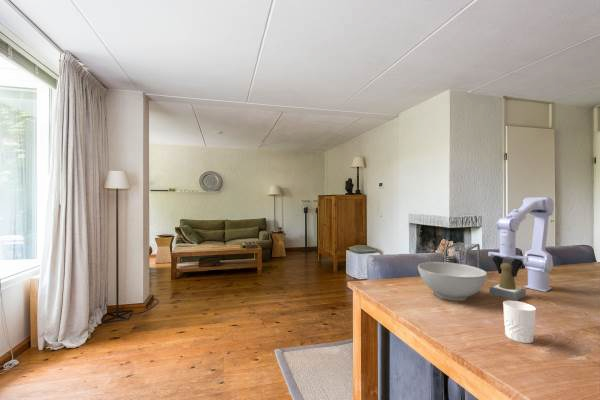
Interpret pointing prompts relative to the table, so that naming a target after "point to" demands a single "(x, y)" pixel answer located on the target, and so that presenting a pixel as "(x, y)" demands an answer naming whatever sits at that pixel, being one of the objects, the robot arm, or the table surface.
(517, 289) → the plinth
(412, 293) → the table surface
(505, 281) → the cork
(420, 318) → the table surface
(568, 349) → the table surface
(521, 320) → the white cup
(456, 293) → the decorative bowl
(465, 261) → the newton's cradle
